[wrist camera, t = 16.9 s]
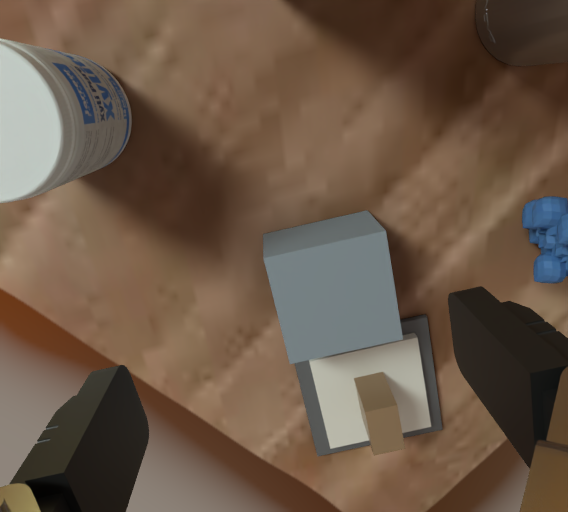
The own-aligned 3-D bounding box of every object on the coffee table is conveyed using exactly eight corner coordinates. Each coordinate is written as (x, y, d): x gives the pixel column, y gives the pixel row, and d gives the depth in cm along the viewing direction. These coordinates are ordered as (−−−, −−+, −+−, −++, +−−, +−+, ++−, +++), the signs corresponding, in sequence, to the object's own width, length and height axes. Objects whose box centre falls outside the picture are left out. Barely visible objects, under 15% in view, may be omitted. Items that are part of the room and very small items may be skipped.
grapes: (465, 217, 45) (533, 258, 34) (523, 167, 44) (614, 192, 33) (534, 296, 48) (618, 358, 37) (590, 251, 47) (695, 301, 36)
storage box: (367, 210, 45) (385, 230, 38) (383, 305, 48) (403, 339, 41) (263, 234, 45) (263, 258, 38) (286, 327, 48) (289, 364, 42)
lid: (414, 332, 48) (436, 367, 42) (428, 420, 52) (450, 464, 46) (308, 356, 49) (315, 394, 43) (329, 442, 52) (338, 488, 46)
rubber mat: (425, 314, 49) (427, 317, 48) (440, 426, 53) (442, 429, 52) (290, 344, 49) (290, 347, 48) (317, 452, 53) (317, 456, 53)
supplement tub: (154, 97, 41) (98, 99, 27) (103, 190, 43) (29, 237, 29) (46, 28, 39) (-74, -8, 25) (0, 130, 41) (-134, 150, 27)
